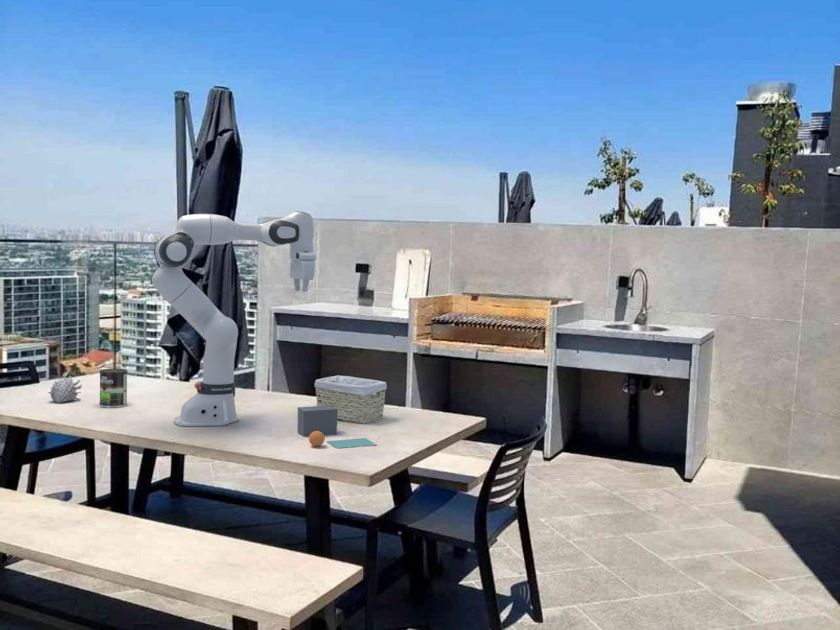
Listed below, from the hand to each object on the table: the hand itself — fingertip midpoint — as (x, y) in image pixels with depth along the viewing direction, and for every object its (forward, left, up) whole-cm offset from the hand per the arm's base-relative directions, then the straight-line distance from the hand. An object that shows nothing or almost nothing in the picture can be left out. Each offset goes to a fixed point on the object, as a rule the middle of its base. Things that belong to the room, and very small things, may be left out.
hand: (301, 291), depth 296 cm
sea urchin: (-81, +55, -48) cm, 109 cm away
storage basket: (+17, -10, -48) cm, 52 cm away
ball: (-9, -49, -45) cm, 67 cm away
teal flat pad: (+3, -49, -48) cm, 69 cm away
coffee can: (-64, +41, -48) cm, 90 cm away
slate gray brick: (-3, -31, -48) cm, 57 cm away
